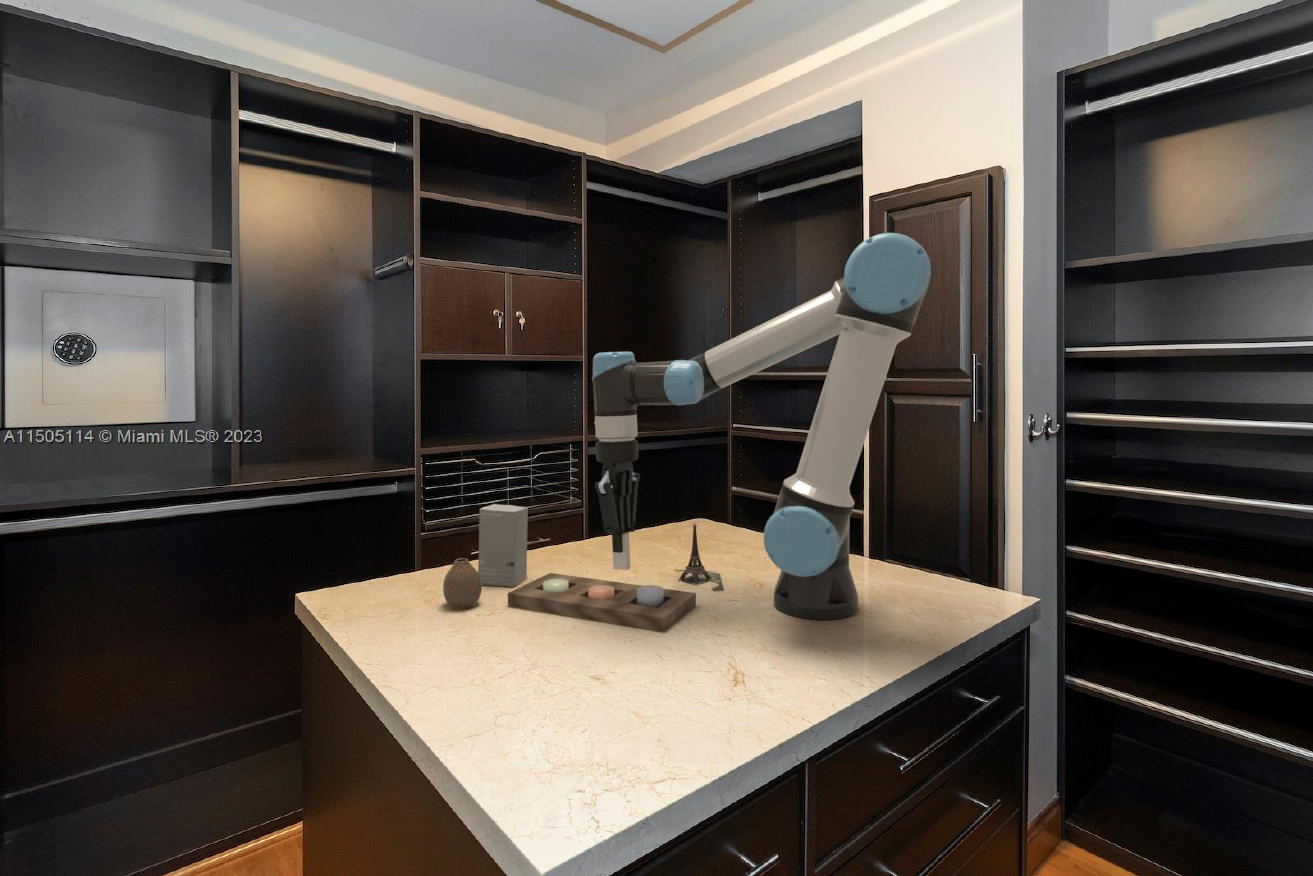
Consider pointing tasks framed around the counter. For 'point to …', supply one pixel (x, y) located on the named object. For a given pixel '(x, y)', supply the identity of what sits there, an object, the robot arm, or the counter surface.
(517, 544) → the skincare box
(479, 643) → the counter surface
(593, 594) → the button terracotta
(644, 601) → the button slate
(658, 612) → the button board
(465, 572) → the vase
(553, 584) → the button sage
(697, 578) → the eiffel tower figurine
